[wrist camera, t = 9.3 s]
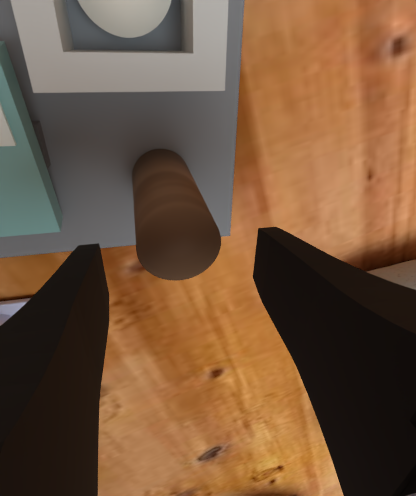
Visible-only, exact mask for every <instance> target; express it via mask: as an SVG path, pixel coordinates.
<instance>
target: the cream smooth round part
mask: <svg viewBox="0 0 416 496" xmlns="http://www.w3.org/2000/svg"><path fill="white" fill-rule="evenodd" d="M78 2H79V4H80V6H81V7H82V9H83V10H84V12H85V13H86V14H87V15H88V17H89V18H90V19H91V20H92V21H93V22H94V23H95V24H96V25H98V26H99V27H100V28H102V29H103V30H105V31H107V32H108V33H111V34H113V35H116V36H119V37H124V38H135V37H139V36H143V35H145V34H147V33H149V32H151V31H152V30H154V29H155V28H156V27H157V26H158V25H159V24H160V23H161V22H162V20H163V19H164V17H165V16H166V14H167V12H168V10H169V7H170V4H171V0H78Z"/></svg>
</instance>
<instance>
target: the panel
mask: <svg viewBox="0 0 416 496" xmlns="http://www.w3.org/2000/svg"><path fill="white" fill-rule="evenodd" d="M243 14H244V0H171V4H170V7H169V10H168V12H167V14H166V16H165V17H164V19H163V20H162V22H161V23H160V24H159V25H158V26H157V27H156V28H155V29H154V30H152V31H151V32H149V33H147V34H145V35H143V36H139V37H135V38H124V37H119V36H116V35H113V34H111V33H108V32H107V31H105V30H103V29H102V28H100V27H99V26H98V25H96V24H95V23H94V22H93V21H92V20H91V19H90V18H89V17H88V15H87V14H86V13H85V12H84V10H83V9H82V7H81V6H80V4H79V2H78V0H0V41H4V42H5V45H6V48H7V51H8V54H9V57H10V60H11V63H12V66H13V69H14V72H15V75H16V78H17V81H18V84H19V87H20V90H21V92H22V95H23V98H24V101H25V104H26V107H27V110H28V113H29V116H30V119H31V122H32V125H33V128H34V131H35V134H36V137H37V140H38V143H39V146H40V149H41V152H42V155H43V158H44V161H45V164H46V167H47V170H48V173H49V176H50V179H51V182H52V185H53V188H54V191H55V194H56V197H57V200H58V203H59V206H60V209H61V212H62V215H63V219H62V226H61V232H53V233H42V234H30V235H18V236H7V237H0V258H4V257H14V256H24V255H35V254H45V253H55V252H66V251H74V250H75V249H76V247H77V246H78V245H86V244H97V243H99V245H100V248H107V247H118V246H128V245H136V236H135V219H134V201H133V184H132V172H133V168H134V165H135V163H136V162H137V160H138V159H139V158H140V157H141V156H142V155H143V154H145V153H146V152H148V151H151V150H154V149H167V150H171V151H173V152H175V153H177V154H178V155H179V156H181V157H182V159H183V160H184V161H185V163H186V165H187V167H188V169H189V171H190V173H191V175H192V177H193V179H194V181H195V183H196V185H197V187H198V189H199V191H200V193H201V195H202V197H203V199H204V201H205V203H206V205H207V207H208V209H209V211H210V213H211V215H212V217H213V219H214V221H215V223H216V225H217V227H218V229H219V232H220V235H221V237H222V236H230V228H231V211H232V195H233V178H234V162H235V145H236V129H237V113H238V96H239V80H240V63H241V47H242V31H243Z"/></svg>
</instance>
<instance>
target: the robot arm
mask: <svg viewBox="0 0 416 496" xmlns="http://www.w3.org/2000/svg"><path fill="white" fill-rule="evenodd" d="M253 279H254V282H255V284H256V287H257V290H258V293H259V295H260V298H261V300H262V303H263V304H264V306H265V308H266V310H267V312H268V314H269V316H270V318H271V320H272V321H273V323H274V325H275V327H276V329H277V331H278V332H279V334H280V336H281V338H282V340H283V341H284V343H285V345H286V347H287V349H288V351H289V352H290V354H291V356H292V358H293V360H294V363H295V365H296V367H297V369H298V371H299V374H300V376H301V379H302V381H303V384H304V386H305V388H306V391H307V393H308V396H309V398H310V401H311V404H312V406H313V409H314V411H315V414H316V416H317V419H318V422H319V424H320V427H321V430H322V433H323V436H324V438H325V441H326V444H327V447H328V450H329V452H330V455H331V458H332V461H333V464H334V467H335V470H336V473H337V476H338V479H339V482H340V485H341V489H342V492H343V495H344V496H416V290H415V289H412V288H409V287H405V286H402V285H399V284H397V283H394V282H391V281H388V280H386V279H383V278H380V277H378V276H375V275H373V274H370V273H368V272H365V271H363V270H361V269H358V268H356V267H354V266H352V265H350V264H347V263H345V262H343V261H341V260H339V259H337V258H335V257H333V256H331V255H329V254H327V253H325V252H323V251H321V250H319V249H317V248H316V247H314V246H312V245H310V244H308V243H306V242H305V241H303V240H301V239H299V238H297V237H295V236H294V235H292V234H290V233H288V232H286V231H284V230H282V229H280V228H277V227H268V228H258V237H257V245H256V254H255V263H254V272H253ZM108 327H109V292H108V287H107V281H106V276H105V271H104V266H103V261H102V255H101V250H100V245H99V243H97V244H86V245H78V246H77V247H76V249H75V250H74V251H73V252H72V253H71V254H70V255H69V257H68V258H67V259H66V260H65V261H64V263H63V264H62V265H61V266H60V267H59V269H58V270H57V271H56V272H55V273H54V274H53V275H52V277H51V278H50V279H49V280H48V281H47V282H46V283H45V284H44V285H43V287H42V288H41V289H40V290H39V291H38V292H37V293H36V294H35V295H34V296H33V297H32V298H27V299H18V300H10V301H2V302H0V496H98V430H99V400H100V388H101V380H102V373H103V365H104V358H105V350H106V342H107V335H108Z"/></svg>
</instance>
